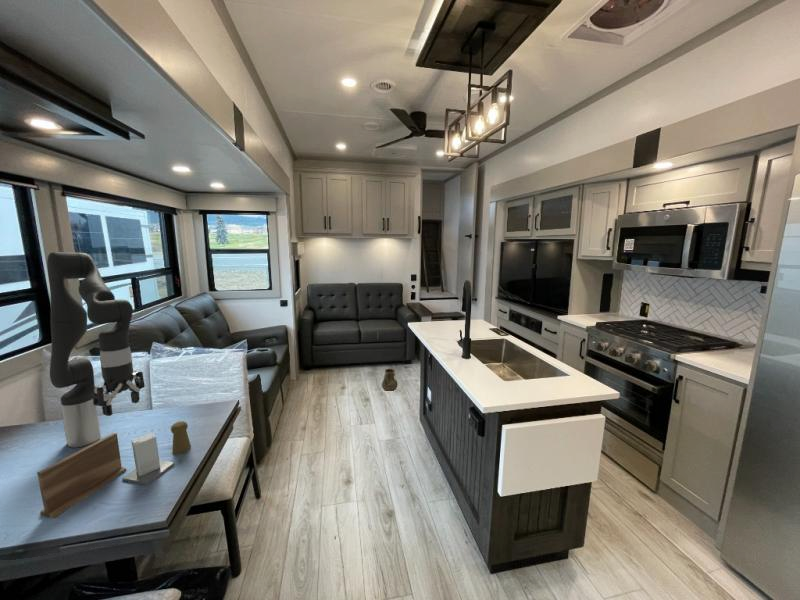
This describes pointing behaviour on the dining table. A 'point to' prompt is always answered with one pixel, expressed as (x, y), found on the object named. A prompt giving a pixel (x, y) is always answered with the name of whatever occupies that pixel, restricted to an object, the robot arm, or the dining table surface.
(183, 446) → the olive stepped cylinder
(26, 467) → the dining table surface
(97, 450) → the walnut screen
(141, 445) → the skincare box
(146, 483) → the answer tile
